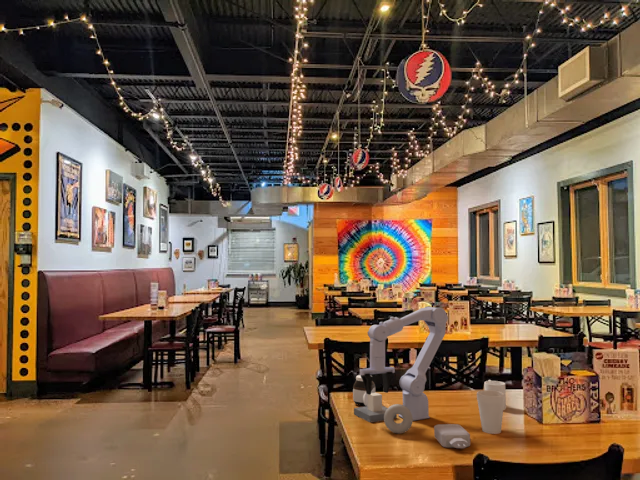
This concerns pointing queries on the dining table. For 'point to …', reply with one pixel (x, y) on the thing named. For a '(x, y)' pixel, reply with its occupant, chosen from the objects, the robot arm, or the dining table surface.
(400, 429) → the donut
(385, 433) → the dining table surface
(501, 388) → the cup
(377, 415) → the tile
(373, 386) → the spread jar
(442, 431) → the charger
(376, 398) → the block
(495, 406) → the foam cup
